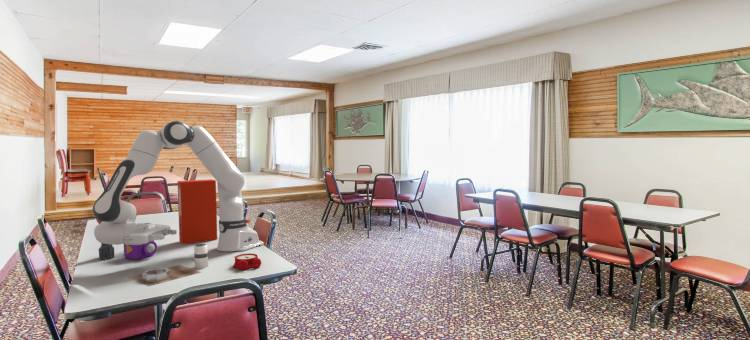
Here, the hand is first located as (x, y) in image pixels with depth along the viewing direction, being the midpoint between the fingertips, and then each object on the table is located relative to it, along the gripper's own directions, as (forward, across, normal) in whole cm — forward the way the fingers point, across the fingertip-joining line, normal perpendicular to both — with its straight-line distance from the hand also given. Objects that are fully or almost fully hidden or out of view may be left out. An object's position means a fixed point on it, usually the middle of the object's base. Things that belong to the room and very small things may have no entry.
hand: (169, 234), depth 171 cm
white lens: (+13, 0, +14) cm, 19 cm away
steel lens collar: (+2, -14, +13) cm, 20 cm away
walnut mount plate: (+3, -10, +14) cm, 18 cm away
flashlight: (-39, +17, +15) cm, 45 cm away
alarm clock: (+30, +5, +14) cm, 34 cm away
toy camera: (-23, +18, +15) cm, 32 cm away
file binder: (-12, +51, +14) cm, 54 cm away
